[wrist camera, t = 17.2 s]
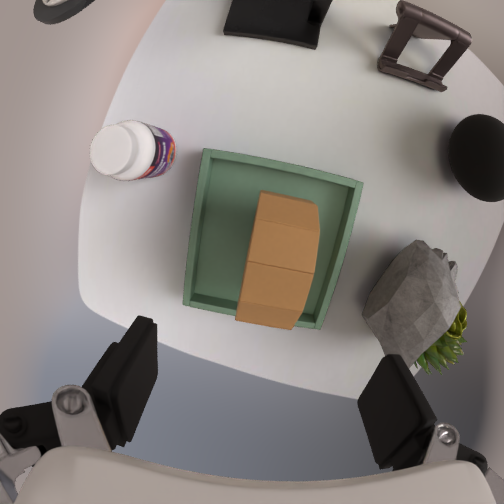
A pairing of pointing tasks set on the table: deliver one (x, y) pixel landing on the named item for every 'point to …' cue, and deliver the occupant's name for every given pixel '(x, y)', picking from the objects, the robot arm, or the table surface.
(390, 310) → the potted plant
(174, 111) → the table surface
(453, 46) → the tablet stand
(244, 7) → the hook rack
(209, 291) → the tray
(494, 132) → the decorative ball
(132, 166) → the pill bottle
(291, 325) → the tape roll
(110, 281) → the table surface
